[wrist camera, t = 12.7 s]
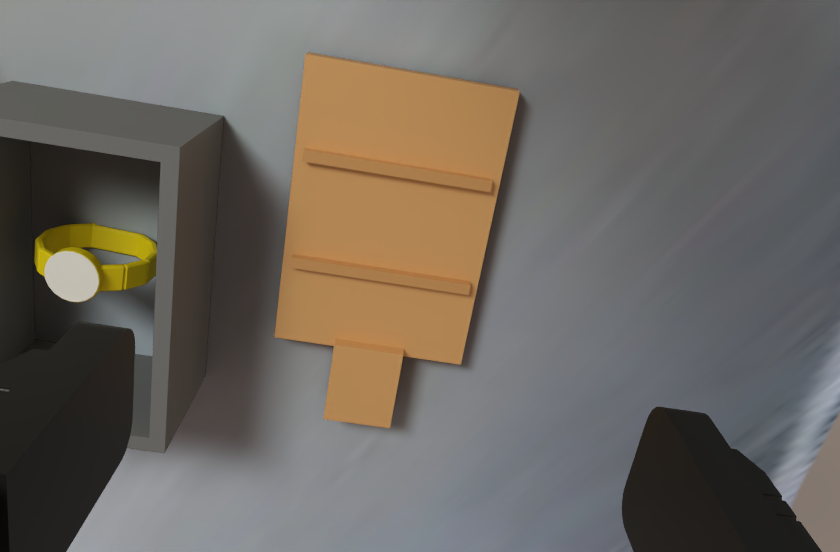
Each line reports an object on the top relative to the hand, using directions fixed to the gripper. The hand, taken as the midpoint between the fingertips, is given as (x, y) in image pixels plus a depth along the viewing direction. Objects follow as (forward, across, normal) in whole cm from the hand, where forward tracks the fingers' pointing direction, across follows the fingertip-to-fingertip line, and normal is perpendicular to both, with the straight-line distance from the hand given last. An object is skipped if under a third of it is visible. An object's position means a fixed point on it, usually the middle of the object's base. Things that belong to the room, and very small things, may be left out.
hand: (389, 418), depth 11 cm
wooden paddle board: (+30, 0, +8) cm, 32 cm away
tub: (+30, +15, +10) cm, 35 cm away
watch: (+30, +15, +10) cm, 35 cm away
